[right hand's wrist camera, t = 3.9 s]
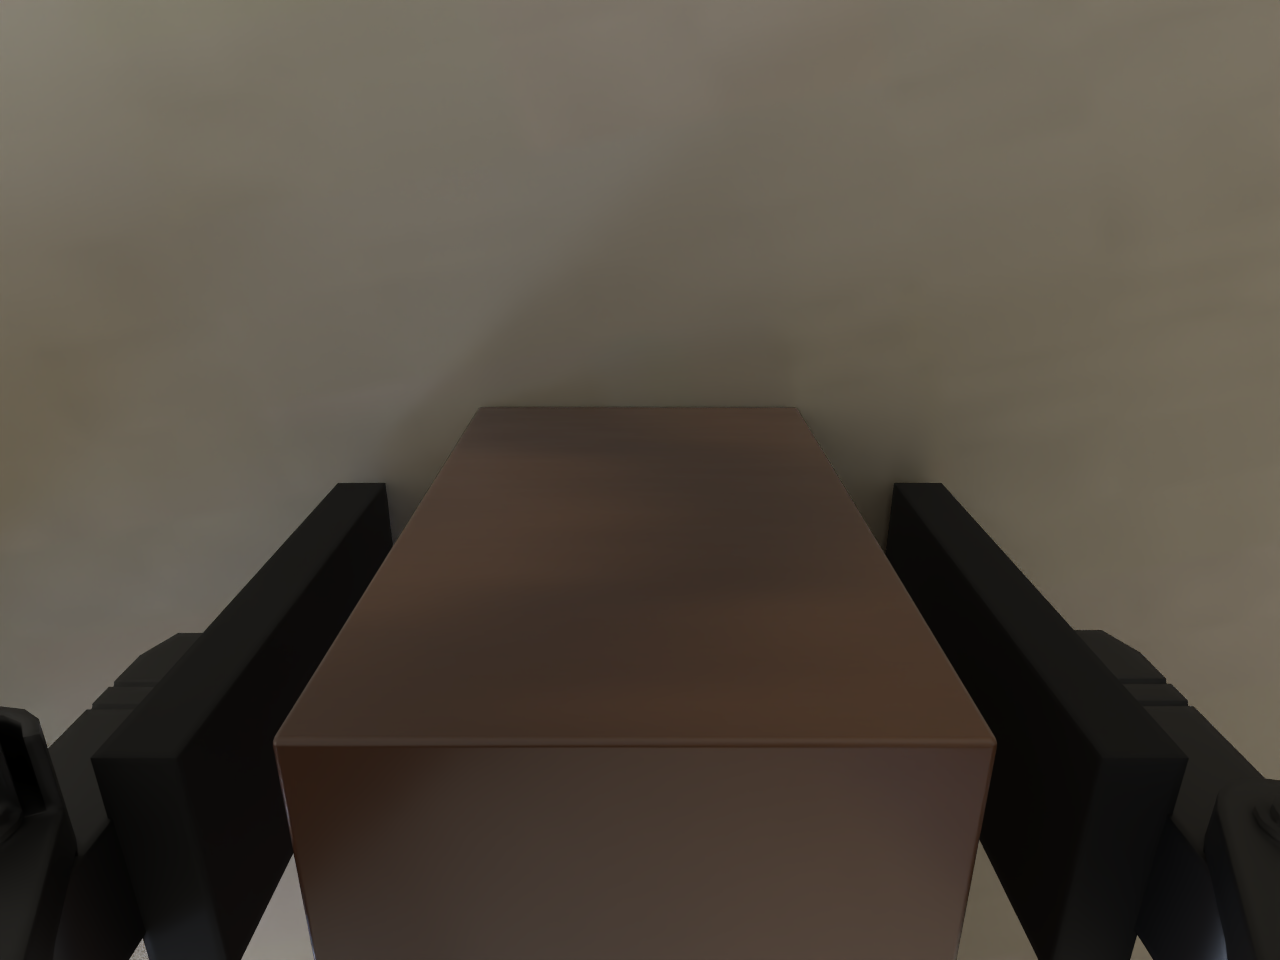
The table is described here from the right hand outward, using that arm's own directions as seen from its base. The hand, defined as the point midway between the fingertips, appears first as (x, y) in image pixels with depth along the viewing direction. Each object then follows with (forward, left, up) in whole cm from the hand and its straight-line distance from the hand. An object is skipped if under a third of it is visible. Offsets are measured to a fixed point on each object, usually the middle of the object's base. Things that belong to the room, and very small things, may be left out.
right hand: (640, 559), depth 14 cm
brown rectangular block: (0, +9, 0) cm, 10 cm away
